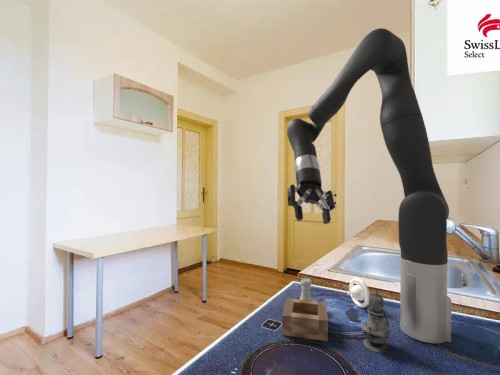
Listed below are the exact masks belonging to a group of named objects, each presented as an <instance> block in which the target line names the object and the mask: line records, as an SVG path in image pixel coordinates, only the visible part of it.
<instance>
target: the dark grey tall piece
mask: <svg viewBox="0 0 500 375" xmlns="http://www.w3.org/2000/svg"><path fill="white" fill-rule="evenodd" d="M378 292H379V291H378V290H377V289H375V290H374V292H373V293H371V294H370V295H369V304H368V307H367V308H366V311H367V313H368V314H367V315H368V317H367V318H368V319H367V321H365V322H363V323H362V324H360V328H361V329H362V333H363V336H364V337H365V338H363V339H362V340H361V341H362V342H361V343H362V345H363V346H364V347H365V348H366V349H367V350H369V351H371V352H375V353H379V354H382V353H387V352H389V351H390V346H389V344H388V343H387V342H388V341H389V339H390V335H392V331H391V329H390V328H389V327H388V326H386V325H385V323H384V322H385V321H384V320H385V319H384V317H385V315H386V311H385V310H384V297H383V296H382V295H381V294H379V293H378Z"/></svg>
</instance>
